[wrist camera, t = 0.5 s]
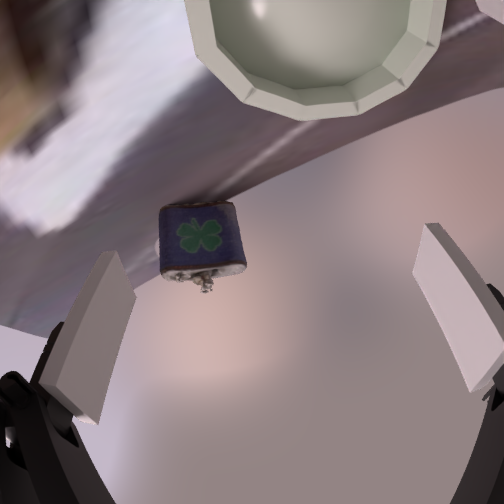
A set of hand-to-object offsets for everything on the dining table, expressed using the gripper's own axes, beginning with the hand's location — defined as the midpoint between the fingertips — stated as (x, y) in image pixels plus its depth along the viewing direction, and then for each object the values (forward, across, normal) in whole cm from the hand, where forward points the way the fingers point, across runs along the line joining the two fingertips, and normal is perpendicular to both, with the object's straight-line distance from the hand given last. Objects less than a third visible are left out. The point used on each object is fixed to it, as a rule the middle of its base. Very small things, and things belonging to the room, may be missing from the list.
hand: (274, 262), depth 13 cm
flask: (+23, -8, -9) cm, 26 cm away
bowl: (+16, +6, +13) cm, 21 cm away
